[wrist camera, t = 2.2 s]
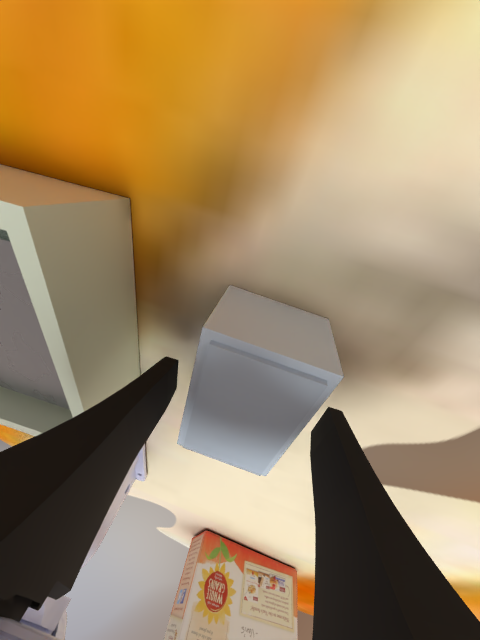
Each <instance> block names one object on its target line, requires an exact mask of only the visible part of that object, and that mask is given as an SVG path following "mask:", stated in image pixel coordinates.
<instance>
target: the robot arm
mask: <svg viewBox="0 0 480 640" xmlns="http://www.w3.org/2000/svg"><path fill="white" fill-rule="evenodd" d="M177 374H178V360H176V359H173V358H170V357H167V356H166V357H164V358H163V359H162V360H160V361H159V362H158V363H156V364H155V365H154V366H152V367H151V368H150V369H149V370H147V371H146V372H144V373H143V374H142V375H140V376H139V377H138V378H136V379H135V380H133V381H132V382H130V383H129V384H128V385H126V386H125V387H123V388H122V389H120V390H119V391H117V392H115V393H114V394H112V395H111V396H109V397H108V398H106V399H104V400H103V401H101V402H100V403H98V404H96V405H95V406H93V407H91V408H89V409H88V410H86V411H84V412H82V413H80V414H79V415H77V416H75V417H73V418H71V419H69V420H67V421H65V422H63V423H62V424H60V425H58V426H56V427H54V428H52V429H50V430H48V431H46V432H44V433H42V434H39V435H37V436H35V437H33V438H31V439H28V440H26V441H24V442H22V443H19V444H17V445H15V446H13V447H10V448H8V449H6V450H4V451H2V452H0V640H65V630H66V623H67V613H66V608H67V606H68V604H69V602H70V600H71V599H70V598H68V597H66V596H64V595H65V594H66V593H68V592H69V591H70V590H71V588H72V586H73V584H74V582H75V579H76V578H77V575H78V573H79V571H80V569H81V568H82V567H83V566H84V565H85V564H86V563H87V562H88V561H89V560H90V559H91V558H92V556H93V555H94V554H95V552H96V551H97V549H98V548H99V546H100V544H101V542H102V540H103V539H104V537H105V535H106V533H107V531H108V529H109V527H110V525H111V524H112V522H113V520H114V518H115V516H116V514H117V513H118V511H119V509H120V507H121V505H122V503H123V501H124V500H125V498H126V496H127V494H128V492H129V490H130V488H131V487H132V485H133V483H134V481H135V479H137V480H140V481H145V479H146V477H147V474H146V457H145V442H146V441H147V439H148V437H149V436H150V434H151V433H152V431H153V429H154V428H155V426H156V425H157V423H158V422H159V420H160V418H161V417H162V415H163V414H164V412H165V410H166V409H167V407H168V405H169V403H170V401H171V399H172V397H173V395H174V392H175V390H176V388H177ZM310 457H311V471H312V484H313V496H314V508H315V526H316V558H315V597H314V620H313V638H312V640H480V622H479V620H478V619H477V618H476V617H475V615H474V614H473V613H472V612H471V610H470V609H469V608H468V607H467V605H466V604H465V603H464V602H463V600H462V599H461V598H460V596H459V595H458V594H457V592H456V591H455V590H454V589H453V587H452V586H451V585H450V583H449V582H448V581H447V579H446V578H445V577H444V575H443V574H442V573H441V571H440V570H439V569H438V567H437V566H436V564H435V563H434V562H433V560H432V559H431V558H430V556H429V555H428V554H427V552H426V551H425V549H424V548H423V547H422V545H421V544H420V542H419V541H418V540H417V538H416V537H415V535H414V534H413V532H412V531H411V529H410V528H409V526H408V525H407V523H406V522H405V520H404V519H403V517H402V516H401V514H400V513H399V511H398V510H397V508H396V507H395V505H394V504H393V502H392V500H391V499H390V497H389V495H388V494H387V492H386V491H385V489H384V487H383V486H382V484H381V483H380V481H379V479H378V477H377V476H376V474H375V472H374V471H373V469H372V467H371V465H370V463H369V461H368V460H367V458H366V456H365V454H364V452H363V451H362V449H361V447H360V445H359V443H358V441H357V439H356V437H355V435H354V433H353V432H352V430H351V428H350V426H349V424H348V422H347V420H346V418H345V416H344V414H343V412H342V411H340V410H337V409H333V408H330V407H328V408H327V410H326V411H325V413H324V414H323V415H322V417H321V418H320V420H319V421H318V423H317V424H316V426H315V427H314V428H313V430H312V431H311V450H310Z"/></svg>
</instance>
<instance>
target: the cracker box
mask: <svg viewBox="0 0 480 640" xmlns="http://www.w3.org/2000/svg"><path fill="white" fill-rule="evenodd" d="M297 635H298V632H297V571H296V570H295V569H294V568H292V567H289V566H287V565H285V564H282V563H280V562H278V561H275V560H273V559H271V558H268V557H266V556H264V555H261V554H259V553H257V552H254V551H252V550H250V549H248V548H245V547H243V546H241V545H239V544H237V543H235V542H232V541H230V540H228V539H225V538H223V537H221V536H219V535H217V534H215V533H213V532H211V531H204V532H202V533H201V534H199V535H197V536H195V537H194V538H192V542H191V545H190V549H189V552H188V556H187V559H186V563H185V566H184V570H183V574H182V577H181V580H180V584H179V588H178V591H177V594H176V598H175V601H174V605H173V608H172V612H171V616H170V619H169V623H168V627H167V630H166V633H165V637H164V640H297V639H298V637H297Z"/></svg>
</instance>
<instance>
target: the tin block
mask: <svg viewBox="0 0 480 640" xmlns="http://www.w3.org/2000/svg"><path fill="white" fill-rule="evenodd" d="M0 386H1V387H4V388H7V389H10V390H13V391H16V392H19V393H22V394H25V395H28V396H31V397H34V398H37V399H40V400H42V401H45V402H48V403H51V404H54V405H57V406H60V407H63V408H66V409H69V410H70V408H69V405H68V402H67V400H66V397H65V394H64V391H63V388H62V386H61V383H60V380H59V377H58V374H57V371H56V369H55V366H54V363H53V360H52V357H51V355H50V352H49V349H48V346H47V343H46V340H45V338H44V335H43V332H42V329H41V326H40V324H39V321H38V318H37V315H36V312H35V310H34V307H33V304H32V301H31V298H30V295H29V293H28V290H27V287H26V284H25V281H24V279H23V276H22V273H21V270H20V267H19V264H18V262H17V259H16V256H15V253H14V250H13V248H12V245H11V242H10V239H9V236H8V233H7V231H5V230H2V229H0Z"/></svg>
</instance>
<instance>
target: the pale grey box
mask: <svg viewBox="0 0 480 640" xmlns="http://www.w3.org/2000/svg"><path fill="white" fill-rule="evenodd" d="M343 378H344V375H343V371H342V367H341V364H340V360H339V356H338V352H337V348H336V345H335V341H334V337H333V333H332V329H331V326H330V322H329V319H327V318H324V317H321V316H318V315H315V314H312V313H310V312H307V311H304V310H301V309H298V308H295V307H292V306H289V305H286V304H284V303H281V302H278V301H275V300H272V299H269V298H266V297H263V296H260V295H258V294H255V293H252V292H249V291H246V290H243V289H240V288H237V287H234V286H232V285H229V287H228V288H227V290H226V291H225V293H224V294H223V296H222V298H221V299H220V301H219V302H218V304H217V305H216V307H215V308H214V310H213V312H212V313H211V315H210V316H209V318H208V319H207V321H206V322H205V324H204V326H203V327H202V332H201V336H200V341H199V345H198V350H197V355H196V359H195V364H194V368H193V373H192V377H191V382H190V386H189V391H188V396H187V400H186V405H185V409H184V414H183V418H182V423H181V427H180V432H179V436H178V441H177V444H179V445H182V446H183V448H186V449H189V450H191V451H194V452H197V453H200V454H202V455H205V456H208V457H210V458H213V459H216V460H219V461H221V462H224V463H227V464H229V465H232V466H235V467H238V468H240V469H243V470H246V471H248V472H251V473H254V474H256V475H259V476H260V475H263V476H266V475H267V474H268V473H269V471H270V470H271V469H272V468H273V466H274V465H275V464H276V463H277V461H278V460H279V459H280V457H281V456H282V455H283V454H284V452H285V451H286V450H287V449H288V447H289V446H290V445H291V444H292V442H293V441H294V440H295V438H296V437H297V436H298V435H299V433H300V432H301V431H302V430H303V428H304V427H305V426H306V424H307V423H308V422H309V421H310V419H311V418H312V417H313V416H314V414H315V413H316V412H317V411H318V409H319V408H320V407H321V405H322V404H323V403H324V402H325V400H326V399H327V398H328V397H329V395H330V394H331V393H332V391H333V390H334V389H335V388H336V386H337V385H338V384H339V383H340V381H341V380H342V379H343Z"/></svg>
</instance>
